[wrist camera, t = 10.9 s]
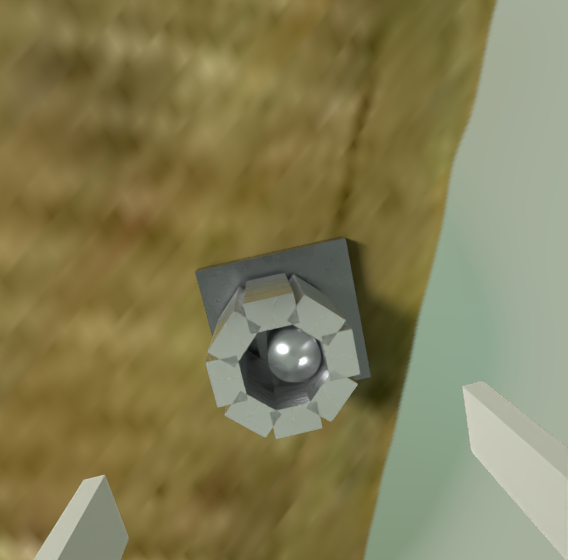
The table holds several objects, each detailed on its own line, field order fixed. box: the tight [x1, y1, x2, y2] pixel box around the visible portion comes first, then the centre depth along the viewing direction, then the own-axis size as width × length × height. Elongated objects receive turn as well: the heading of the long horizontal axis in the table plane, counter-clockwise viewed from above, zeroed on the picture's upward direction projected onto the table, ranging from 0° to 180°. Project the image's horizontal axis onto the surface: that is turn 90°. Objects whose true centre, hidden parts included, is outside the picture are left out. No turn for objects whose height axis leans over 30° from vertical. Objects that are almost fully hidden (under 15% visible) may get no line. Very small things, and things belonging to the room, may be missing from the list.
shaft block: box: [195, 237, 371, 383], centre depth 28 cm, size 12×12×8 cm
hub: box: [205, 273, 360, 439], centre depth 26 cm, size 9×9×7 cm
